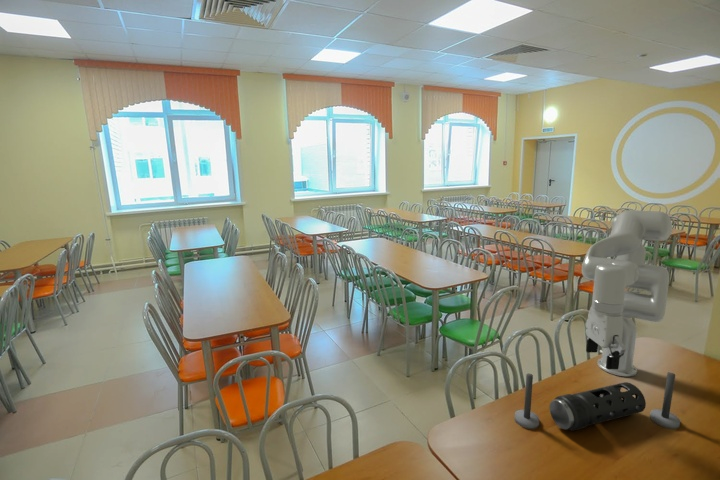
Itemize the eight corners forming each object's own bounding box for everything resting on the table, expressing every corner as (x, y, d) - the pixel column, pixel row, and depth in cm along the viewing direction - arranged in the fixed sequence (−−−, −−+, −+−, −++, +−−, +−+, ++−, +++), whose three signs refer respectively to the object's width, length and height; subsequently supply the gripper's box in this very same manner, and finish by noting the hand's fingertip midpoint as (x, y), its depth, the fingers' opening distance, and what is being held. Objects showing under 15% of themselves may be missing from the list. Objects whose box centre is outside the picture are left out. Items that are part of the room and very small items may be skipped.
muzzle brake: (644, 422, 111) (648, 392, 109) (570, 442, 104) (573, 410, 102) (615, 403, 120) (619, 375, 118) (546, 420, 113) (548, 391, 111)
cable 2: (644, 413, 114) (650, 367, 111) (667, 413, 114) (673, 367, 111) (661, 428, 108) (668, 380, 104) (685, 428, 107) (693, 380, 104)
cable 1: (511, 413, 116) (513, 368, 113) (533, 413, 116) (536, 368, 113) (519, 429, 109) (522, 381, 106) (543, 429, 109) (546, 381, 106)
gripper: (577, 296, 113) (572, 346, 116) (613, 318, 96) (606, 376, 99) (601, 296, 113) (596, 346, 116) (642, 318, 96) (634, 376, 99)
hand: (601, 360), depth 108 cm, fingers open, 9 cm apart
